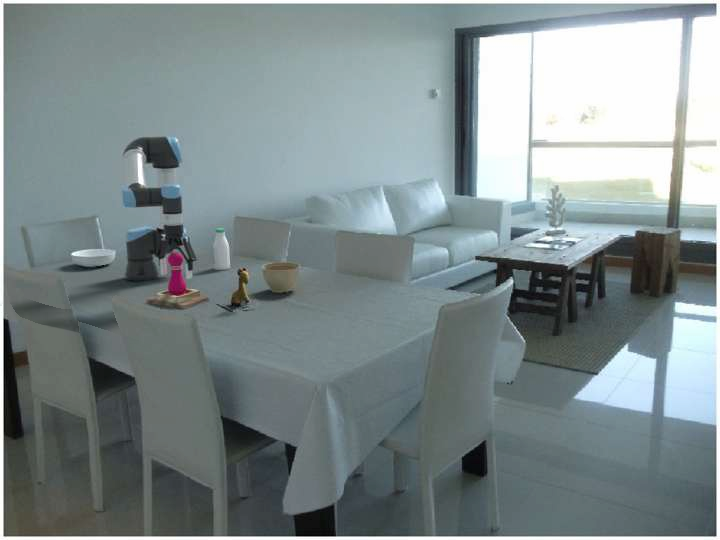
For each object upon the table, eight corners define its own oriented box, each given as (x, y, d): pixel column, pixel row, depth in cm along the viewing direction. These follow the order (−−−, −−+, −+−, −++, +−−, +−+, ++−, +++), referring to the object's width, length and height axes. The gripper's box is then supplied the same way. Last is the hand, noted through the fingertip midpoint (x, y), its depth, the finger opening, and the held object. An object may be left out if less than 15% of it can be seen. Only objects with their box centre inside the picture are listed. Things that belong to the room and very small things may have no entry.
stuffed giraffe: (234, 313, 257) (233, 271, 255) (213, 304, 271) (212, 265, 269) (271, 307, 267) (270, 267, 264) (249, 300, 281) (248, 262, 278)
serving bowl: (107, 270, 333) (106, 256, 331) (65, 270, 333) (63, 256, 332) (122, 261, 353) (121, 248, 352) (82, 261, 353) (81, 248, 352)
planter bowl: (255, 291, 291) (254, 266, 288) (283, 284, 302) (283, 260, 300) (279, 297, 280) (278, 271, 278) (308, 290, 291) (307, 265, 289)
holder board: (147, 302, 273) (146, 292, 272) (172, 294, 284) (171, 285, 284) (184, 308, 263) (183, 298, 262) (208, 300, 275) (208, 291, 274)
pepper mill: (182, 300, 269) (179, 251, 265) (165, 299, 271) (162, 250, 266) (190, 296, 276) (187, 247, 272) (173, 295, 278) (170, 247, 273)
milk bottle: (233, 268, 336) (231, 228, 332) (222, 271, 329) (220, 230, 325) (221, 266, 340) (219, 227, 336) (210, 269, 333) (208, 229, 329)
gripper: (143, 222, 270) (147, 274, 274) (190, 227, 258) (193, 282, 263) (157, 220, 276) (160, 271, 281) (203, 225, 264) (206, 278, 269)
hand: (176, 276), depth 272 cm, fingers open, 13 cm apart
